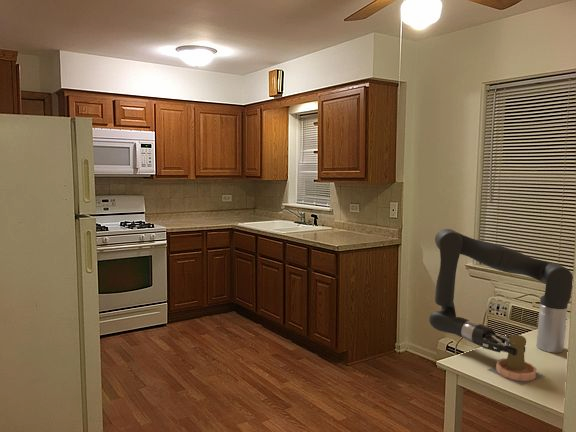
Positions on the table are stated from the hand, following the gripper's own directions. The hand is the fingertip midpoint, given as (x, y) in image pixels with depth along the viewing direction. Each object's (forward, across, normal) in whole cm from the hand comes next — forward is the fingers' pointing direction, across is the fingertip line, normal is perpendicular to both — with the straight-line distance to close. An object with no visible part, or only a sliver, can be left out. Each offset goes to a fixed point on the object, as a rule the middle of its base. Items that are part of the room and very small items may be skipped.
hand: (520, 351), depth 162 cm
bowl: (-1, 0, +8) cm, 8 cm away
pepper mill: (-1, 0, +6) cm, 6 cm away
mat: (-1, 0, +9) cm, 9 cm away
